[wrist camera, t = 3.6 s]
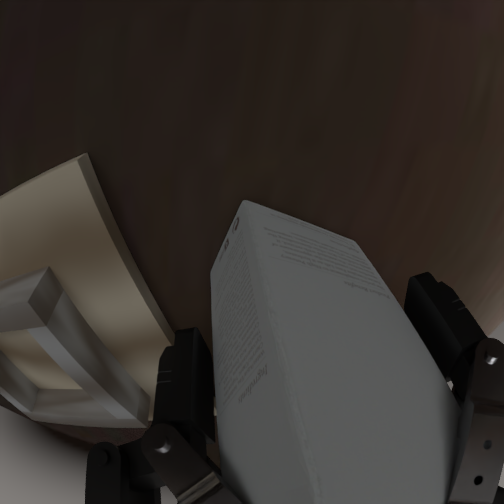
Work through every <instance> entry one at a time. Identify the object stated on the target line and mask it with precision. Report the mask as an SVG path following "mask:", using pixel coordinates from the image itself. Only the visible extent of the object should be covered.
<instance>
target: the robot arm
mask: <svg viewBox="0 0 504 504" xmlns="http://www.w3.org/2000/svg"><path fill="white" fill-rule="evenodd" d="M404 311H405V314H406V316H407V317H408V319H409V320H410V322H411V323H412V325H413V326H414V328H415V330H416V331H417V333H418V334H419V336H420V338H421V339H422V341H423V343H424V344H425V346H426V348H427V349H428V351H429V353H430V354H431V356H432V358H433V359H434V361H435V363H436V364H437V366H438V368H439V370H440V371H441V373H442V375H443V377H444V379H445V380H446V382H449V381H452V383H453V388H452V393H453V395H454V397H455V399H456V401H457V403H458V405H459V407H460V409H461V411H462V412H461V414H460V416H459V417H458V426H457V437H458V438H460V446H459V450H458V454H457V457H456V461H455V464H454V467H453V470H452V475H451V481H450V486H449V491H448V495H447V500H446V504H504V488H502V487H500V486H498V483H499V480H500V475H501V472H502V468H503V463H504V344H503V343H501V342H500V341H499V340H497V339H494V338H488V337H487V336H486V335H485V333H484V332H483V330H482V329H481V328H480V326H479V325H478V323H477V322H476V320H475V319H474V317H473V316H472V315H471V313H470V312H469V310H468V309H467V308H465V305H464V304H463V302H462V301H461V300H460V298H459V297H458V296H457V294H456V293H455V292H454V290H453V289H452V288H451V287H449V286H448V285H446V284H445V283H443V282H442V281H441V282H439V283H438V282H437V281H436V280H435V278H434V277H433V276H432V275H431V274H430V273H429V272H425V273H422V274H419V275H416V276H412V277H410V279H409V283H408V288H407V293H406V299H405V304H404ZM214 443H215V423H214V389H213V362H212V357H211V353H210V351H209V349H208V347H207V345H206V343H205V341H204V339H203V337H202V335H201V334H200V332H199V330H198V328H197V327H194V328H188V329H183V330H177V331H176V333H175V339H174V346H167V347H165V349H164V351H163V353H162V355H161V357H160V358H159V365H158V374H157V384H156V391H155V401H154V412H153V421H152V425H151V427H150V428H148V429H147V430H146V431H145V433H144V434H143V436H142V437H141V438H140V439H138V440H135V441H132V442H129V443H126V444H123V445H120V446H115V445H113V444H112V443H109V442H100V443H97V444H96V445H94V446H93V447H92V448H91V450H90V452H89V454H88V459H87V471H86V489H85V504H161V493H160V487H162V486H167V487H168V488H169V490H170V491H171V492H172V493H173V495H174V496H175V497H176V499H177V501H178V503H177V504H246V503H245V502H244V501H243V500H242V499H241V498H240V497H239V495H238V494H237V493H236V492H235V491H234V490H233V488H232V487H231V486H230V485H229V484H228V483H227V482H226V481H225V480H224V479H222V474H221V470H220V468H219V467H218V466H217V465H216V464H215V463H214V462H213V461H212V460H211V459H210V458H209V457H208V456H207V453H206V444H214Z"/></svg>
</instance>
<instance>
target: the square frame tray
mask: <svg viewBox="0 0 504 504" xmlns="http://www.w3.org/2000/svg"><path fill="white" fill-rule="evenodd" d="M174 339H175V334H174V332H173V331H172V329H171V327H170V326H169V324H168V322H167V320H166V319H165V317H164V315H163V313H162V312H161V310H160V308H159V306H158V305H157V303H156V301H155V299H154V297H153V295H152V294H151V292H150V290H149V288H148V286H147V284H146V282H145V281H144V279H143V277H142V275H141V273H140V271H139V269H138V267H137V265H136V263H135V261H134V259H133V257H132V255H131V253H130V251H129V249H128V247H127V245H126V243H125V241H124V238H123V236H122V234H121V232H120V230H119V228H118V226H117V223H116V221H115V219H114V217H113V215H112V212H111V210H110V208H109V205H108V203H107V201H106V198H105V196H104V194H103V191H102V189H101V187H100V184H99V182H98V179H97V177H96V174H95V172H94V169H93V166H92V164H91V161H90V159H89V156H88V153H85V154H82V155H80V156H78V157H76V158H73V159H71V160H69V161H67V162H65V163H62V164H60V165H58V166H56V167H54V168H52V169H50V170H48V171H46V172H44V173H42V174H40V175H38V176H36V177H34V178H32V179H30V180H28V181H27V182H25V183H23V184H21V185H19V186H17V187H16V188H14V189H12V190H10V191H9V192H7V193H5V194H3V195H2V196H0V394H1V395H3V396H4V397H5V398H6V399H7V400H8V401H10V402H11V403H12V404H13V405H14V406H16V407H17V408H18V409H19V410H20V411H22V412H23V413H24V414H26V415H27V416H28V417H29V418H31V419H32V420H36V421H43V422H50V423H58V424H68V425H79V426H92V427H114V428H148V420H153V412H154V401H155V391H156V384H157V374H158V365H159V358H160V357H161V355H162V353H163V351H164V349H165V347H167V346H174ZM216 415H217V411H216V398H215V397H214V416H216Z"/></svg>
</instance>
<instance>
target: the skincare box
mask: <svg viewBox="0 0 504 504" xmlns="http://www.w3.org/2000/svg"><path fill="white" fill-rule="evenodd" d="M210 276H211V309H212V335H213V361H214V380H215V396H216V411H217V427H218V439H219V451H220V465H221V474H222V479H224V480H225V481H226V482H227V483H228V484H229V485H230V486H231V487H232V488H233V490H234V491H235V492H236V493H237V494H238V495H239V497H240V498H241V499H242V500H243V501H244V502H245V503H246V504H446V500H447V495H448V491H449V486H450V481H451V475H452V470H453V467H454V464H455V461H456V457H457V454H458V450H459V446H460V438H458V437H457V426H458V417H459V416H460V414H461V412H462V411H461V409H460V407H459V405H458V403H457V401H456V399H455V397H454V395H453V393H452V391H451V390H450V388H449V386H448V384H447V382H446V380H445V379H444V377H443V375H442V373H441V371H440V370H439V368H438V366H437V364H436V363H435V361H434V359H433V358H432V356H431V354H430V353H429V351H428V349H427V348H426V346H425V344H424V343H423V341H422V339H421V338H420V336H419V334H418V333H417V331H416V330H415V328H414V326H413V325H412V323H411V322H410V320H409V319H408V317H407V316H406V314H405V312H404V311H403V309H402V308H401V306H400V305H399V303H398V302H397V300H396V299H395V297H394V296H393V294H392V293H391V291H390V290H389V288H388V287H387V285H386V284H385V283H384V281H383V280H382V278H381V277H380V275H379V274H378V272H377V271H376V269H375V268H374V267H373V265H372V264H371V262H370V261H369V260H368V258H367V257H366V255H365V254H364V253H363V251H362V250H361V249H360V247H359V246H358V245H357V243H356V242H355V241H353V240H351V239H348V238H345V237H343V236H340V235H338V234H335V233H333V232H330V231H328V230H325V229H323V228H320V227H318V226H315V225H312V224H310V223H307V222H305V221H302V220H299V219H297V218H294V217H291V216H289V215H286V214H283V213H281V212H278V211H275V210H272V209H270V208H267V207H264V206H262V205H259V204H256V203H253V202H250V201H247V200H244V201H242V203H241V205H240V207H239V209H238V211H237V213H236V216H235V218H234V220H233V222H232V224H231V226H230V228H229V231H228V233H227V235H226V237H225V240H224V242H223V244H222V246H221V249H220V251H219V253H218V255H217V258H216V260H215V262H214V265H213V267H212V270H211V272H210Z"/></svg>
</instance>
